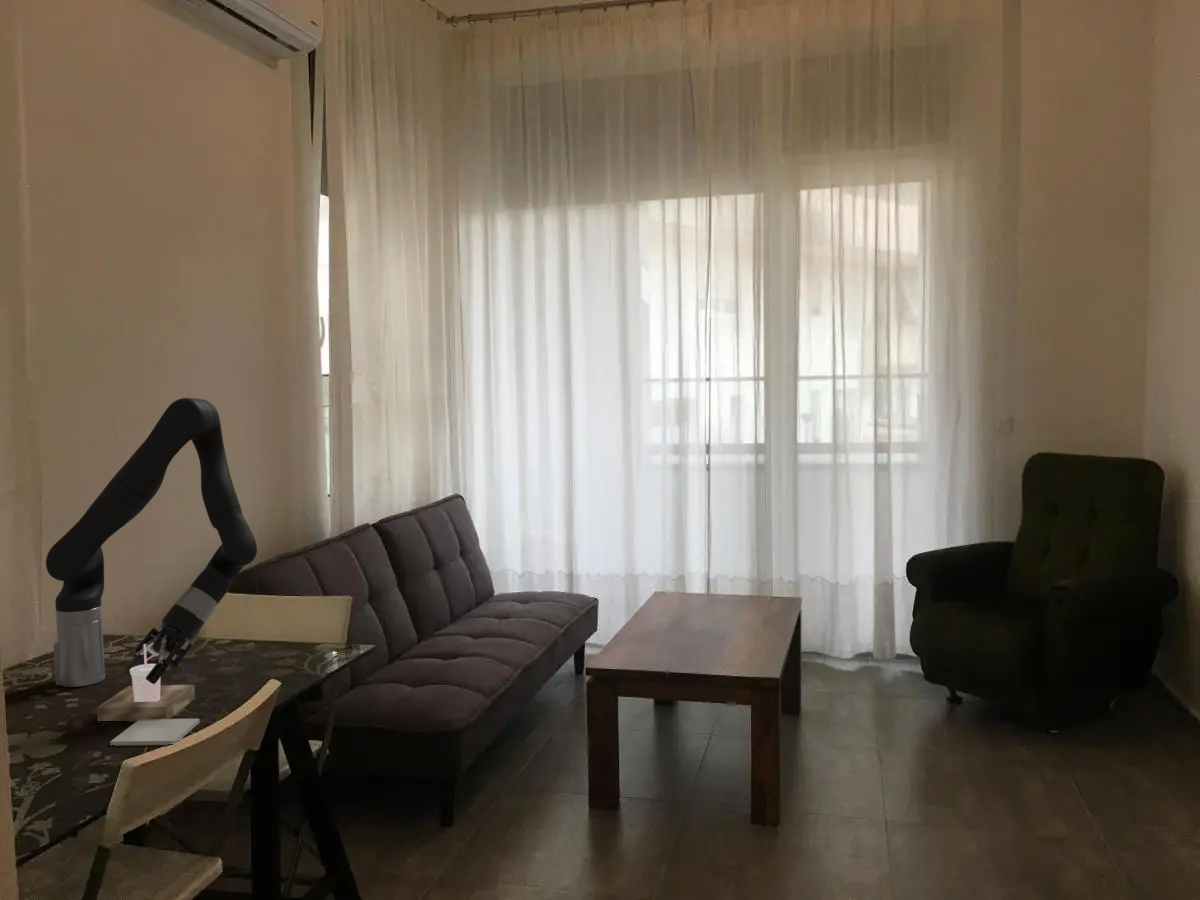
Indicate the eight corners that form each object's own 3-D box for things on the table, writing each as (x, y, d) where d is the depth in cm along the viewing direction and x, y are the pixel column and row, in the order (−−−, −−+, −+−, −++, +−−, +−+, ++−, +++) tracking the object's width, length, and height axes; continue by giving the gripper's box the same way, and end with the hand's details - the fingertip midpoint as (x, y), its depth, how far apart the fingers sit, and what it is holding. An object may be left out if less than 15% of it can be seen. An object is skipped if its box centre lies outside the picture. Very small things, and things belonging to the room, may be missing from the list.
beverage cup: (125, 713, 205) (121, 646, 204) (148, 703, 211) (144, 639, 210) (147, 716, 203) (144, 649, 202) (170, 706, 209) (167, 641, 208)
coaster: (110, 745, 187) (110, 741, 187) (139, 723, 199) (139, 719, 199) (174, 744, 187) (173, 740, 187) (199, 722, 199) (199, 718, 199)
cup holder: (97, 721, 200) (96, 707, 200) (130, 699, 214) (129, 685, 214) (166, 721, 200) (166, 706, 200) (194, 698, 214) (194, 684, 214)
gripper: (161, 598, 215) (110, 662, 208) (194, 607, 206) (142, 674, 199) (186, 617, 220) (137, 680, 212) (219, 627, 211) (169, 693, 203)
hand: (139, 677), depth 205 cm, fingers open, 8 cm apart
